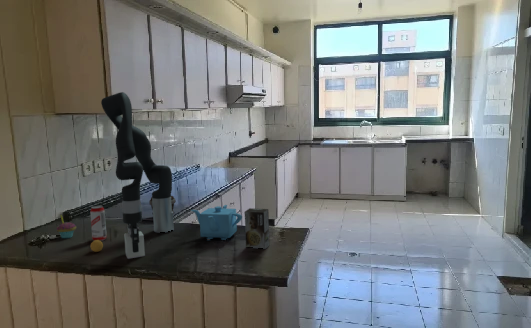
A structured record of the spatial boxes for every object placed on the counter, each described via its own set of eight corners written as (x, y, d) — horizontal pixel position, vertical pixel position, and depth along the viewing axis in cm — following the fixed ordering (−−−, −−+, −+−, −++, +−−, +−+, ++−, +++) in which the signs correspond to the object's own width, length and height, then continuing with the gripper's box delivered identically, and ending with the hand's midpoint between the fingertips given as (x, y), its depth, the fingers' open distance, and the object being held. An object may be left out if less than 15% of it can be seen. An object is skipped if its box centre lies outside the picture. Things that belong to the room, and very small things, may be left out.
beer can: (101, 242, 185) (99, 208, 183) (89, 241, 186) (86, 208, 184) (109, 238, 191) (107, 205, 189) (97, 237, 192) (95, 205, 190)
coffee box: (270, 244, 174) (269, 208, 172) (265, 249, 168) (264, 212, 166) (250, 243, 177) (249, 207, 175) (245, 247, 171) (244, 211, 169)
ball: (103, 248, 175) (102, 237, 174) (103, 252, 170) (103, 240, 170) (90, 250, 173) (89, 239, 172) (91, 254, 168) (90, 242, 168)
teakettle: (245, 238, 185) (244, 207, 183) (209, 246, 175) (207, 213, 173) (226, 229, 200) (225, 200, 199) (191, 236, 190) (190, 206, 189)
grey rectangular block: (142, 251, 170) (140, 231, 169) (144, 255, 164) (143, 235, 163) (125, 253, 167) (124, 233, 166) (127, 258, 161) (126, 237, 160)
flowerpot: (144, 218, 228) (142, 184, 226) (165, 212, 240) (164, 180, 238) (160, 221, 219) (158, 186, 217) (182, 215, 231) (180, 182, 229)
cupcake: (57, 240, 189) (55, 216, 188) (57, 236, 197) (55, 212, 195) (77, 237, 193) (75, 213, 192) (76, 233, 201) (74, 210, 199)
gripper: (144, 212, 159) (146, 253, 161) (138, 206, 172) (141, 243, 174) (124, 215, 156) (127, 256, 158) (120, 208, 169) (123, 246, 170)
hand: (134, 249), depth 166 cm, fingers closed on grey rectangular block, 7 cm apart
